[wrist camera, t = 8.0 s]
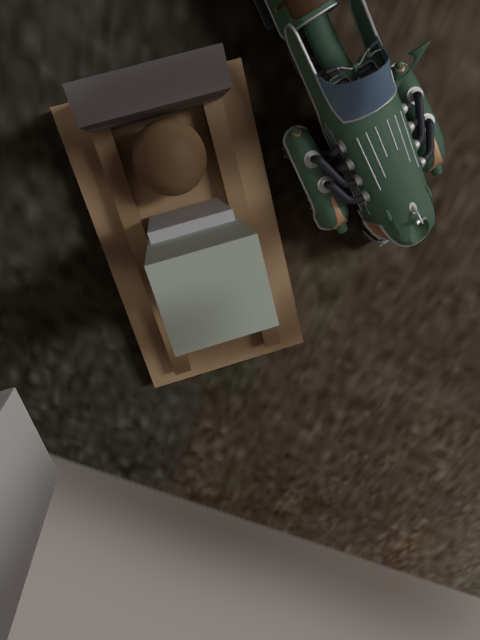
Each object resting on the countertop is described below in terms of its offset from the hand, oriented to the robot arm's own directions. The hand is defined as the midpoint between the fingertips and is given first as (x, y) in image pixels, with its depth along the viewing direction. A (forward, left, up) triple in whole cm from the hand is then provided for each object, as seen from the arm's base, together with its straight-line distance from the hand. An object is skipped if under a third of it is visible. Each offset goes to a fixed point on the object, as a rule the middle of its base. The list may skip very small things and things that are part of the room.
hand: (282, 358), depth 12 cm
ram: (0, -1, -21) cm, 21 cm away
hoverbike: (-8, +10, -22) cm, 26 cm away
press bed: (0, -1, -22) cm, 22 cm away
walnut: (-5, -1, -21) cm, 22 cm away
